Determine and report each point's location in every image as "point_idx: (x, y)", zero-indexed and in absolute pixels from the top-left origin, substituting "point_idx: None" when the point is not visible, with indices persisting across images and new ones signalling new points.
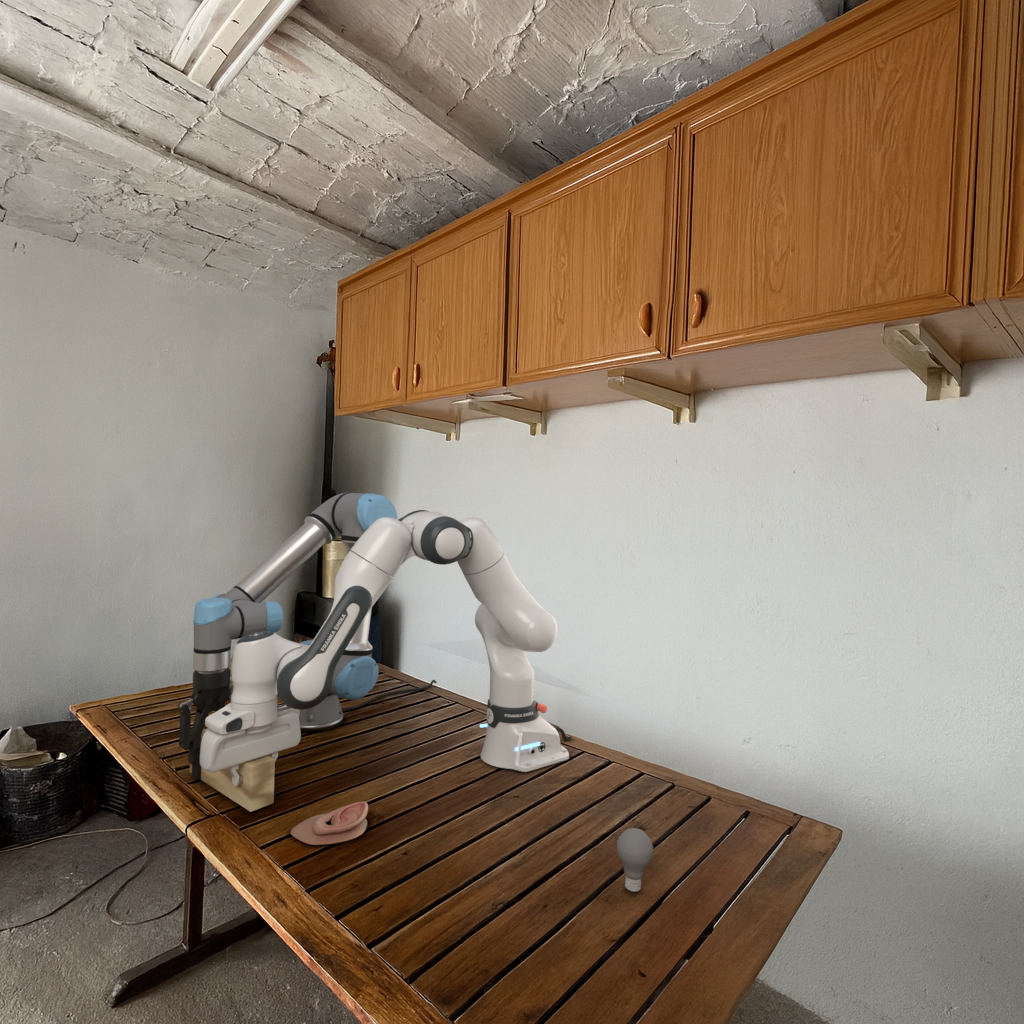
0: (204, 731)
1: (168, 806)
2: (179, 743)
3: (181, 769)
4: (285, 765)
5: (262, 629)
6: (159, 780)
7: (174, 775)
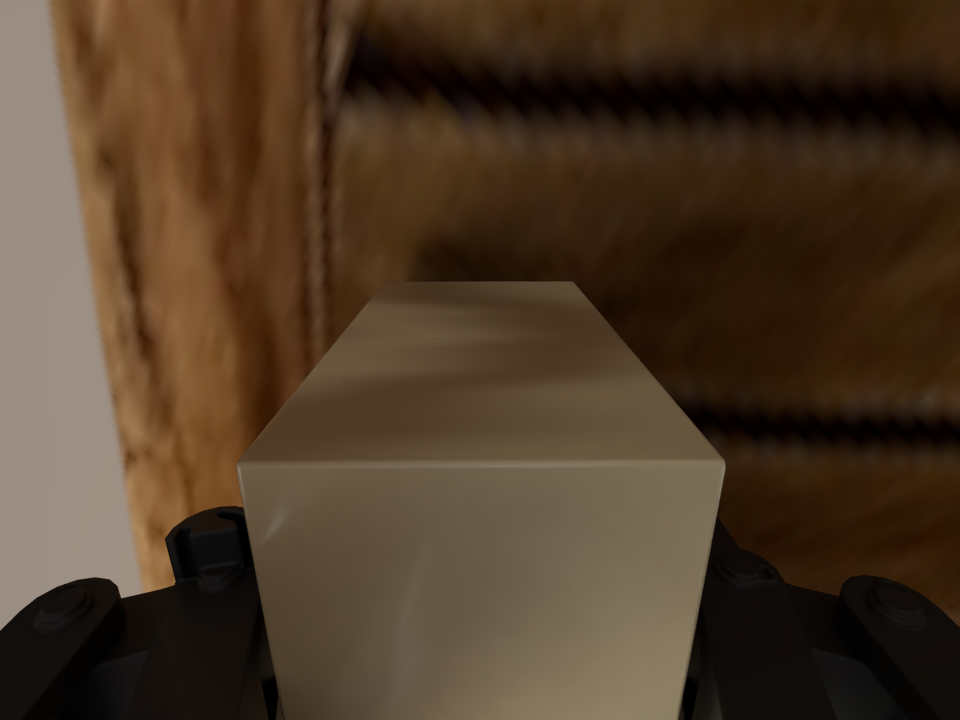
0: (465, 586)
1: None
2: (5, 641)
3: (383, 102)
4: (910, 565)
5: None
6: (170, 198)
7: (295, 188)
